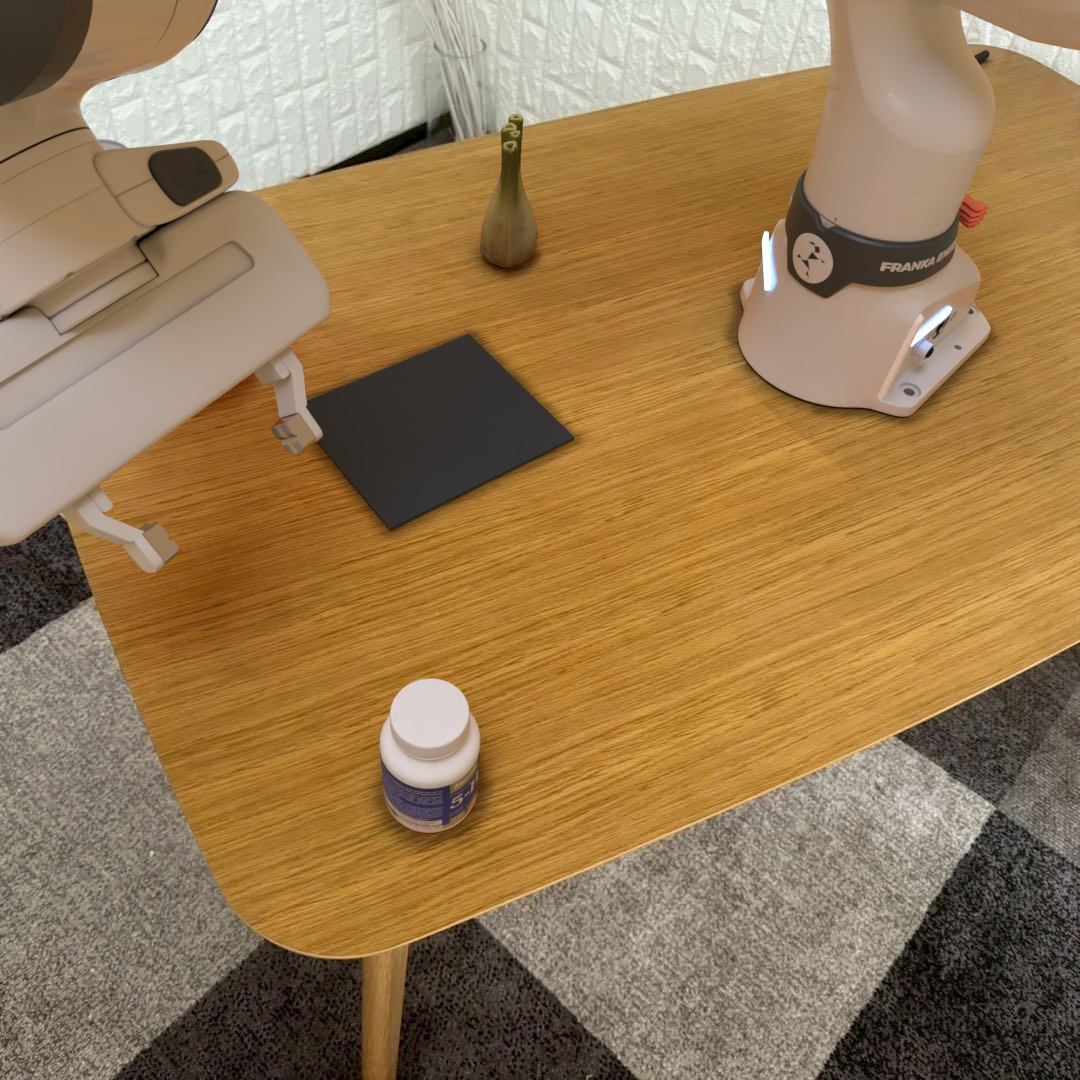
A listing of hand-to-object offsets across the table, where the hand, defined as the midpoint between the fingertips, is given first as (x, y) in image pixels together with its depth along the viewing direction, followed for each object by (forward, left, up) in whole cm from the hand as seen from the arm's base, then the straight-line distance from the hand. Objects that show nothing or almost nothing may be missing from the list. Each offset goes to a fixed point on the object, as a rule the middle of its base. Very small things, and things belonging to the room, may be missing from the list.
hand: (239, 501), depth 49 cm
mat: (-19, -13, -16) cm, 28 cm away
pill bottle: (-3, +11, -16) cm, 20 cm away
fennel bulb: (-36, -27, -16) cm, 48 cm away
